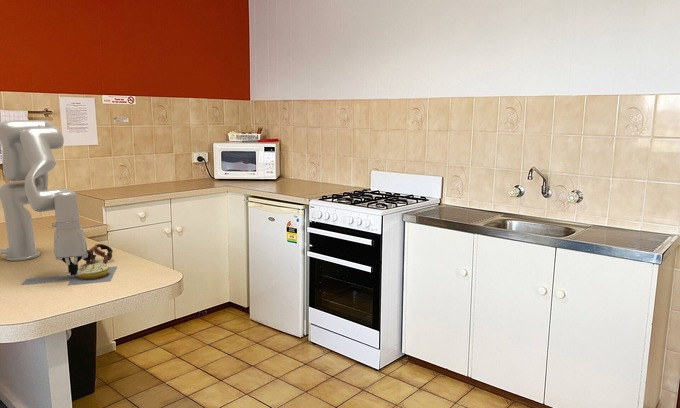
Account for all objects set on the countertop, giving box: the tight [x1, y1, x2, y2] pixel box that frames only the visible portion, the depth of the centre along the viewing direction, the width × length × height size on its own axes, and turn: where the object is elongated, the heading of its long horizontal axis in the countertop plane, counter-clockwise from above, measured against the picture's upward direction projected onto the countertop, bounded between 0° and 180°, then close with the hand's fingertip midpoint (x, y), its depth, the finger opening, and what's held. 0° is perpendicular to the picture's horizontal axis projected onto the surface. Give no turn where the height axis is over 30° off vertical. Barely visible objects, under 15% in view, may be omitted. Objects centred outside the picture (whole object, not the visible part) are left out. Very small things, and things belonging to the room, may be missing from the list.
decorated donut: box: [77, 262, 110, 279], centre depth 194 cm, size 10×11×4 cm
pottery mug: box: [82, 243, 114, 264], centre depth 212 cm, size 12×10×8 cm
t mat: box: [21, 265, 118, 286], centre depth 194 cm, size 30×19×1 cm, turn 106°
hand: (73, 274), depth 194 cm, fingers closed
